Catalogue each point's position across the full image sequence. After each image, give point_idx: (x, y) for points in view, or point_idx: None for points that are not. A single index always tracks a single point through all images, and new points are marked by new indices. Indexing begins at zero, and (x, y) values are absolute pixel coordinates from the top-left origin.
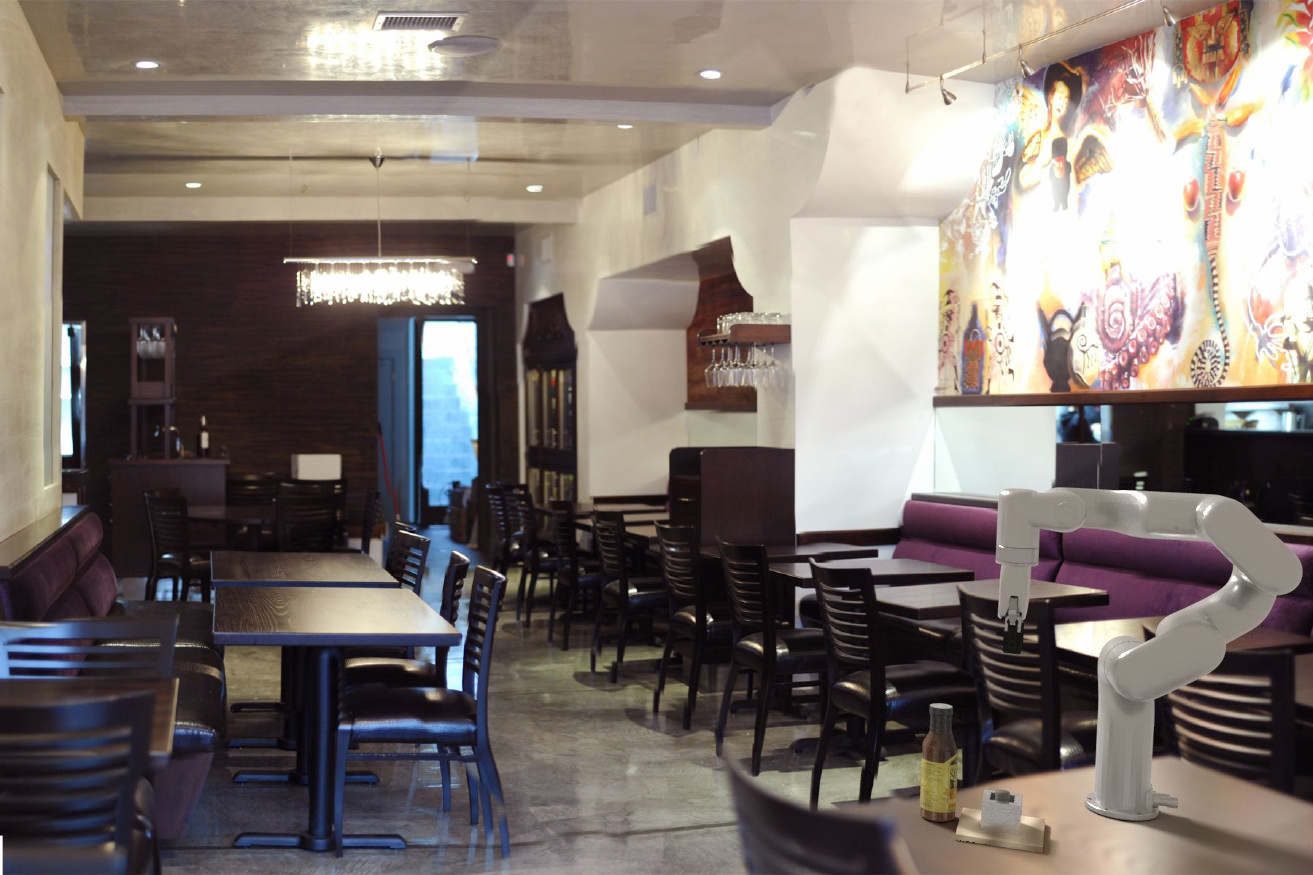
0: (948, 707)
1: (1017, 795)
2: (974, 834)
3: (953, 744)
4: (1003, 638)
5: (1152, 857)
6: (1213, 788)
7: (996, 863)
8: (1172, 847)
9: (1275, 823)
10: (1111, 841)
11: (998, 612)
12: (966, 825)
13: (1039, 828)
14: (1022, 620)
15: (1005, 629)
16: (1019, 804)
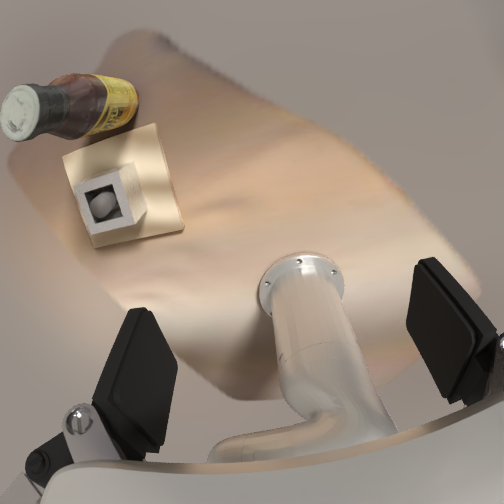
0: (14, 135)
1: (126, 219)
2: (74, 174)
3: (61, 136)
4: (109, 361)
5: (166, 328)
6: (409, 339)
7: (44, 214)
8: (207, 339)
9: None
10: (181, 295)
11: (46, 495)
12: (93, 155)
13: (144, 231)
14: (464, 405)
15: (66, 417)
16: (95, 231)
